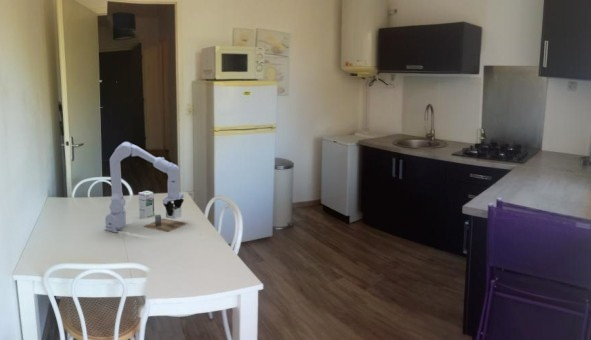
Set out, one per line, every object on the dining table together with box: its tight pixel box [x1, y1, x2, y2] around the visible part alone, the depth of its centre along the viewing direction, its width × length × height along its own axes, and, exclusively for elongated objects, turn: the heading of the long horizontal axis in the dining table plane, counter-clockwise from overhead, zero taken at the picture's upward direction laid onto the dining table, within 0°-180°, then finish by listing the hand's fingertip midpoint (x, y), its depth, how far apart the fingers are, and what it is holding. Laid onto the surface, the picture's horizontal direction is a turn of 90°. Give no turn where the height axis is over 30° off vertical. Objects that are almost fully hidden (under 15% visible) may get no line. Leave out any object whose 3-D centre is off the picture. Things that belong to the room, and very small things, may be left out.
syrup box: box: [138, 190, 155, 220], centre depth 262 cm, size 6×6×14 cm
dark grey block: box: [154, 214, 162, 226], centre depth 247 cm, size 3×3×5 cm
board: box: [142, 218, 188, 233], centre depth 248 cm, size 16×16×2 cm
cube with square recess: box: [165, 205, 182, 220], centre depth 248 cm, size 6×6×5 cm
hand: (173, 214), depth 249 cm, fingers closed on cube with square recess, 5 cm apart
